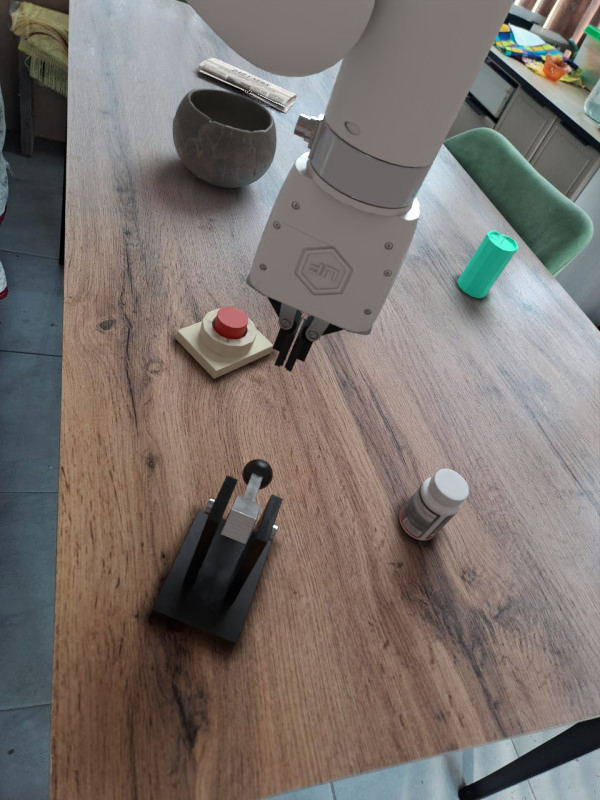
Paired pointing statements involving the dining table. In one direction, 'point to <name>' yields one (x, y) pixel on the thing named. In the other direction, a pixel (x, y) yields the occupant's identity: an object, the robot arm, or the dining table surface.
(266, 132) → the bowl
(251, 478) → the lever
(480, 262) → the candle
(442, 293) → the dining table surface
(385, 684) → the dining table surface
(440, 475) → the pill bottle
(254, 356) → the button box
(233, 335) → the button
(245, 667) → the dining table surface
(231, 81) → the newspaper
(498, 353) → the dining table surface
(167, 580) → the bracket
